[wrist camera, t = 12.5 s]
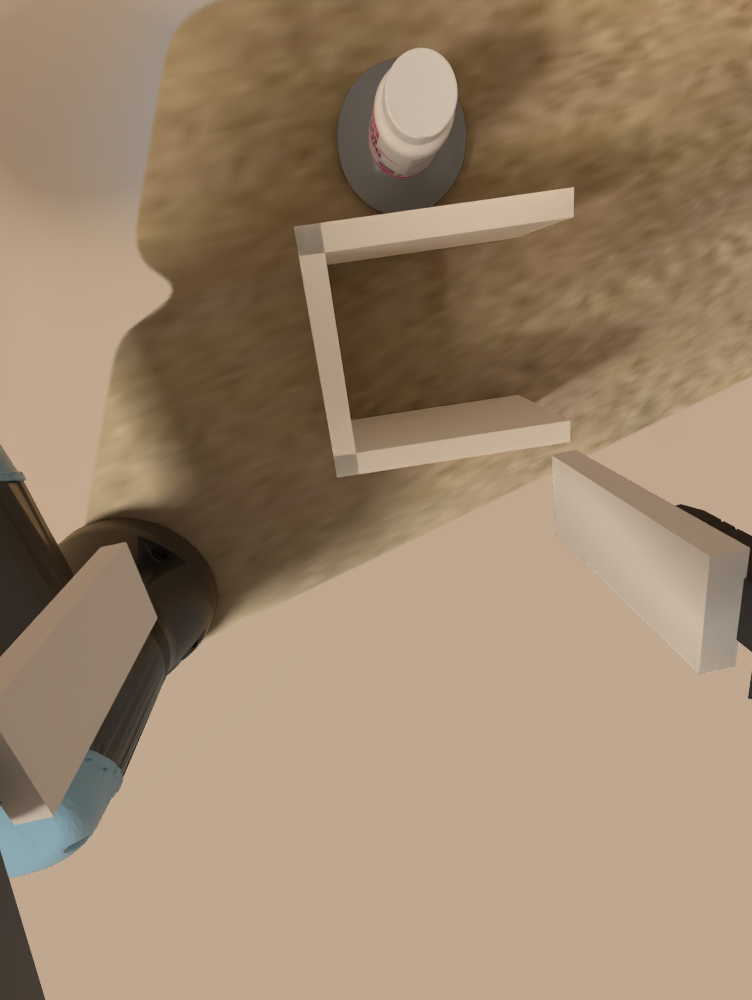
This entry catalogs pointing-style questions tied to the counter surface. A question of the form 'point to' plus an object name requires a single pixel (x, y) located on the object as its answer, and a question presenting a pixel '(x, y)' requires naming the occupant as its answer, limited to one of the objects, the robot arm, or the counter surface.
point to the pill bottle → (412, 113)
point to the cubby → (439, 427)
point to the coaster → (367, 175)
